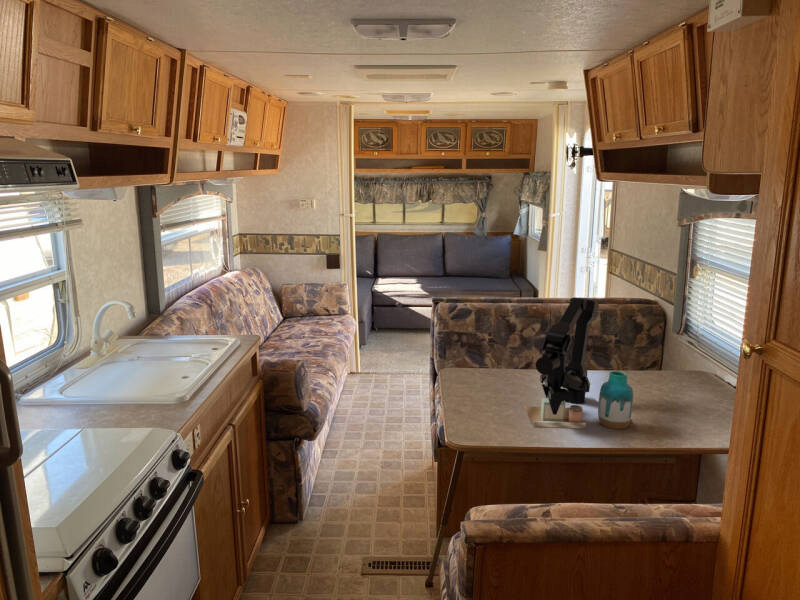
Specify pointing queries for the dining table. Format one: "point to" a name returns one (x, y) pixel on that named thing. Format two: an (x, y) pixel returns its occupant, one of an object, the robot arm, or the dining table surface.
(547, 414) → the tea box
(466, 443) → the dining table surface
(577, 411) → the spice jar
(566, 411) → the wooden tray
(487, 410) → the dining table surface
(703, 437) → the dining table surface
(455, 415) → the dining table surface
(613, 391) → the vase
